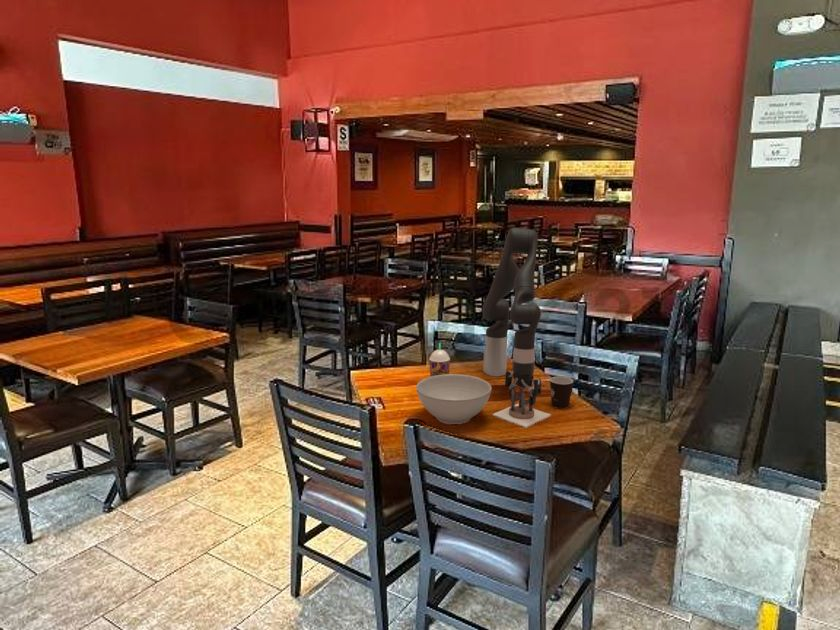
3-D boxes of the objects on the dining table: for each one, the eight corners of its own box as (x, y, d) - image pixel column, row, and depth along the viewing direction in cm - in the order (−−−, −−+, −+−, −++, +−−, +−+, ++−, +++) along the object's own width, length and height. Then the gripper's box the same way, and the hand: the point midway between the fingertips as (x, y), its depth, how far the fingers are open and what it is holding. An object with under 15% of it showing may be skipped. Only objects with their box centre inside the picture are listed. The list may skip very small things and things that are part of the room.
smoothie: (439, 395, 236) (439, 347, 232) (425, 390, 242) (424, 343, 238) (454, 390, 242) (454, 343, 237) (440, 385, 248) (440, 339, 243)
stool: (519, 407, 223) (520, 383, 220) (539, 414, 216) (540, 389, 214) (503, 414, 217) (504, 389, 214) (524, 421, 210) (525, 396, 208)
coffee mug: (572, 410, 221) (573, 384, 219) (548, 408, 223) (549, 383, 221) (571, 399, 232) (572, 374, 230) (548, 397, 234) (549, 373, 232)
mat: (492, 415, 217) (492, 414, 217) (517, 404, 227) (517, 403, 227) (525, 428, 206) (525, 426, 206) (551, 416, 216) (551, 414, 216)
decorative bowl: (472, 400, 232) (473, 370, 229) (503, 427, 207) (504, 394, 204) (407, 409, 223) (406, 378, 221) (431, 438, 199) (431, 404, 196)
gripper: (546, 361, 209) (544, 404, 213) (514, 352, 219) (512, 394, 223) (533, 366, 204) (532, 410, 208) (501, 357, 214) (500, 399, 218)
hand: (522, 402), depth 215 cm, fingers open, 8 cm apart
